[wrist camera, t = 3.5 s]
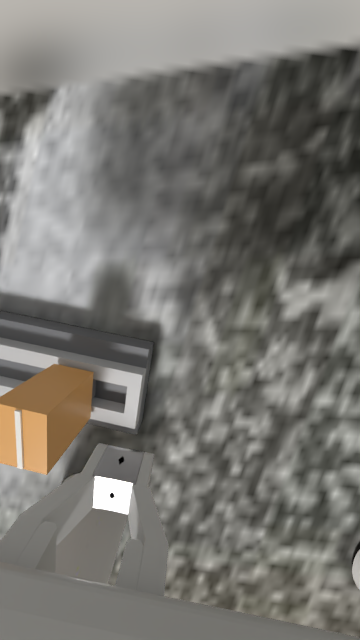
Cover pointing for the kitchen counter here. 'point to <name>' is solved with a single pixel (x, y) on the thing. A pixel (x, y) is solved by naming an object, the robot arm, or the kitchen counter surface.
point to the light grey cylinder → (91, 545)
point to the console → (80, 364)
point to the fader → (44, 417)
